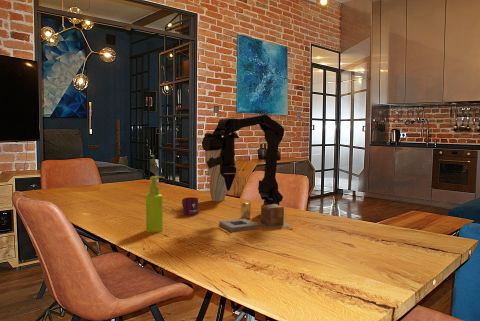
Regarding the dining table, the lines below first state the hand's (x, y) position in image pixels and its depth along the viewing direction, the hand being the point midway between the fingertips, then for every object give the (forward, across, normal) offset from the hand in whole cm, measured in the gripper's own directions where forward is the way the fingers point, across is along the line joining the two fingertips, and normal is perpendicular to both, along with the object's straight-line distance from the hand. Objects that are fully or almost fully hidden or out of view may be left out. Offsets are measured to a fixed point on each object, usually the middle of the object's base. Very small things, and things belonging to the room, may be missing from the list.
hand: (227, 188), depth 155 cm
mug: (+14, -17, -17) cm, 28 cm away
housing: (+13, +6, +17) cm, 22 cm away
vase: (+14, -48, -4) cm, 50 cm away
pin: (+14, -4, +7) cm, 16 cm away
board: (+14, +6, +17) cm, 23 cm away
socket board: (+13, +11, +4) cm, 18 cm away
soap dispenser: (+13, +13, -27) cm, 33 cm away
